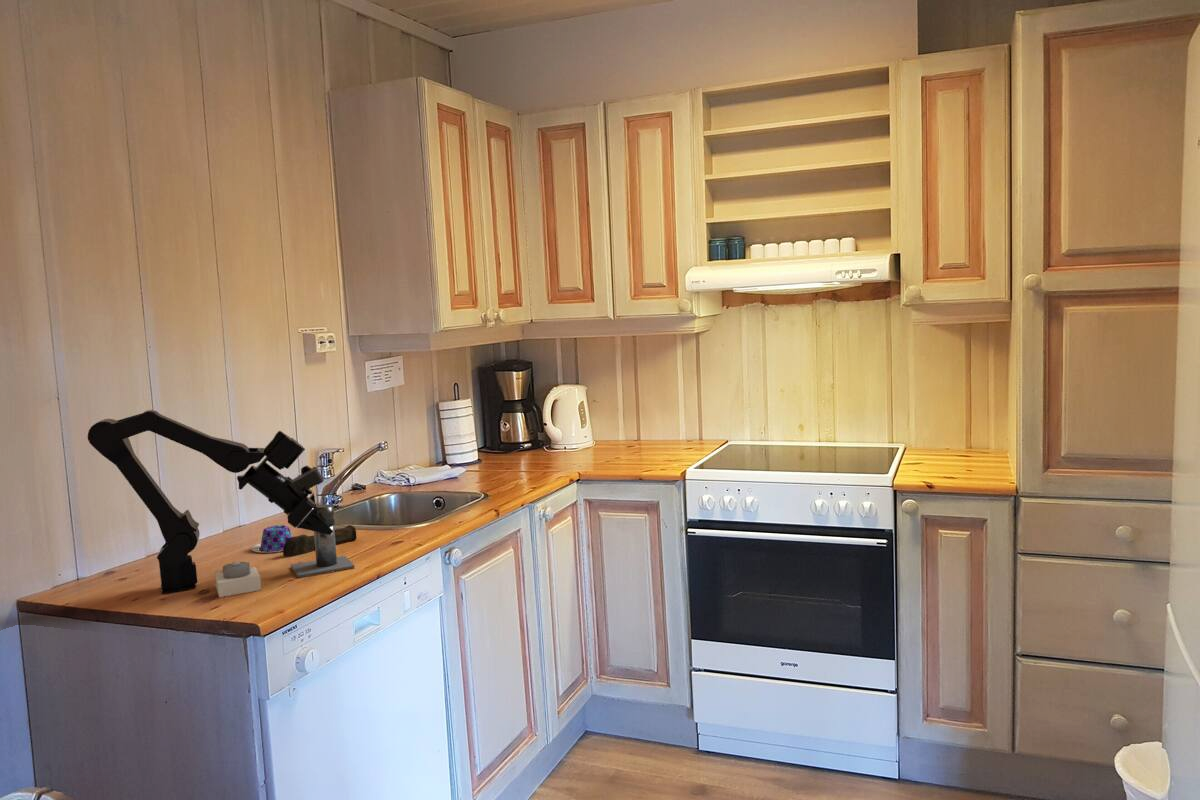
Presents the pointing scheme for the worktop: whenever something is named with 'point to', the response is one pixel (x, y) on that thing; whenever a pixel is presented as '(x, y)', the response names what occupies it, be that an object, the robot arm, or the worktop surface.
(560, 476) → the worktop surface
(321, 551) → the grey upright cylinder
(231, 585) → the block
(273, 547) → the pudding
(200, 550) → the worktop surface
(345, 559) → the rest mat
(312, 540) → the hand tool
